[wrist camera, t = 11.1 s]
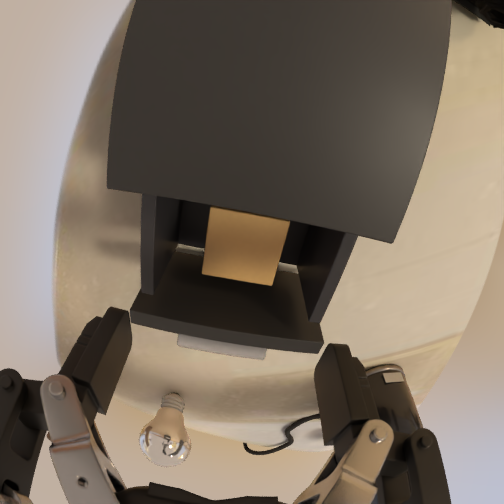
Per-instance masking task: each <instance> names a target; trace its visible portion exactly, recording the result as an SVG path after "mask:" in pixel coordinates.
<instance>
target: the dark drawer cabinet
mask: <svg viewBox="0 0 504 504" xmlns="http://www.w3.org/2000/svg"><path fill="white" fill-rule="evenodd" d="M451 8H452V0H136V2H135V5H134V8H133V11H132V15H131V18H130V22H129V25H128V29H127V33H126V37H125V41H124V45H123V50H122V54H121V59H120V64H119V69H118V74H117V80H116V86H115V92H114V99H113V107H112V115H111V124H110V134H109V147H108V164H107V188H108V189H113V190H121V191H128V192H134V193H141V194H148V195H154V196H161V197H167V198H173V199H179V200H185V201H191V202H197V203H203V204H208V205H214V206H219V207H225V208H230V209H236V210H241V211H246V212H251V213H256V214H261V215H266V216H271V217H276V218H281V219H286V220H291V221H296V222H300V223H305V224H310V225H314V226H319V227H323V228H328V229H332V230H337V231H341V232H345V233H350V234H354V235H358V236H362V237H366V238H371V239H375V240H379V241H383V242H387V243H391V244H392V243H393V242H394V239H395V237H396V235H397V232H398V230H399V227H400V225H401V223H402V220H403V218H404V215H405V212H406V210H407V207H408V205H409V202H410V199H411V197H412V194H413V191H414V188H415V185H416V182H417V179H418V177H419V173H420V170H421V167H422V164H423V161H424V158H425V154H426V151H427V148H428V144H429V141H430V137H431V133H432V130H433V126H434V122H435V118H436V113H437V109H438V105H439V100H440V95H441V90H442V85H443V80H444V74H445V68H446V61H447V54H448V46H449V37H450V25H451Z"/></svg>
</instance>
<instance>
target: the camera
mask: <svg viewBox="0 0 504 504" xmlns="http://www.w3.org/2000/svg"><path fill="white" fill-rule="evenodd" d="M454 1H456V2H457V3H459V4H460V5H462V6H463V7H465V8H466V9H468V10H469V11H471V12H472V13H473V14H475V15H476V16H478V17H479V18H480V19H482V20H483V21H484V22H486V23H487V24H488V25H489V26H490V24H491V25H493V28H501V29H504V0H454Z"/></svg>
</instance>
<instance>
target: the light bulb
mask: <svg viewBox="0 0 504 504" xmlns="http://www.w3.org/2000/svg"><path fill="white" fill-rule="evenodd" d="M184 405H185V404H184V401H183V399H182V398H181V397H180V396H179V394H177V393H174V392H173V393H170V394H167V395H166V396H163V398H162V404H161V408H160V409H159V410H158V412H157V414H156V416H155V417H154V419H152V420H151V421H150V422H149V423H148V424H146V425H145V426H144V428H143V429H142V431H141V433H140V437H139V443H140V447H141V450H142V452H143V454H144V455H145V456H146V458H147V459H148V460H150V461H151V462H153V463H154V464H156V465H159V466H164V467H172V466H176V465H178V464H180V463H182V462H183V461H185V459H186V458H187V457H188V455H189V453H190V450H191V441H190V437H189V435H188V432H187V430H186V428H185V426H184V417H183V410H184Z"/></svg>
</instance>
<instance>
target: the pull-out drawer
mask: <svg viewBox="0 0 504 504" xmlns="http://www.w3.org/2000/svg"><path fill="white" fill-rule="evenodd" d="M210 207H211V205H208V204H203V203H197V202H191V201H185V200H179V199H173V198H167V197H161V196H154V195H148V194H142V207H141V289H140V291H139V293H138V295H137V297H136V299H135V301H134V303H133V305H132V307H131V308H130V317H131V323H134V324H138V325H142V326H146V327H150V328H155V329H159V330H163V331H168V332H173V333H177V334H178V341H177V345H178V346H180V347H185V348H190V349H195V350H201V351H206V352H212V353H218V354H224V355H230V356H236V357H243V358H251V359H258V360H264V358H265V356H266V351H267V349H275V350H283V351H293V352H303V353H314V354H318V353H319V351H320V349H321V347H322V346H323V344H324V340H323V336H322V332H321V327H320V322H321V320H322V318H323V316H324V314H325V311H326V309H327V307H328V305H329V303H330V301H331V299H332V296H333V294H334V292H335V290H336V287H337V285H338V283H339V281H340V278H341V276H342V274H343V271H344V269H345V267H346V264H347V262H348V260H349V257H350V255H351V252H352V250H353V247H354V245H355V242H356V240H357V237H358V235H354V234H350V233H345V232H341V231H337V230H332V229H328V228H323V227H319V226H314V225H310V224H305V223H300V222H296V221H291V220H290V225H289V228H288V232H287V235H286V239H285V242H284V246H283V250H282V253H281V257H280V260H279V262H281V263H287V264H292V265H297V269H298V274H297V273H291V272H285V271H280V270H277V271H276V274H275V277H274V281H273V284H272V286H269V285H263V284H257V283H251V282H245V281H239V280H233V279H227V278H222V277H216V276H210V275H205V274H202V266H203V256H197V255H192V254H187V253H181V252H176V251H175V250H176V248H177V246H178V244H184V245H189V246H194V247H200V248H205V241H206V234H207V226H208V219H209V212H210Z"/></svg>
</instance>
